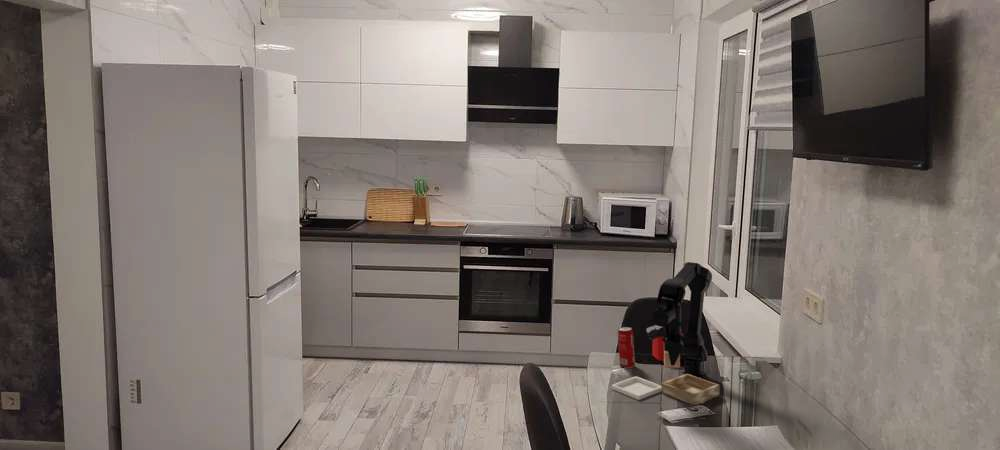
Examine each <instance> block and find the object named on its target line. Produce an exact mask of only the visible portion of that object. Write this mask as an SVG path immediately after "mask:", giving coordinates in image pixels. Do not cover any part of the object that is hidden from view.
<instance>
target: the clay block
mask: <svg viewBox="0 0 1000 450" xmlns="http://www.w3.org/2000/svg"><path fill="white" fill-rule="evenodd" d="M663 364H664V368H681V358H680V355H679V357H678V359H677V361H676V363H675V365H671V363H670V358H669V353H668V351H664V361H663Z"/></svg>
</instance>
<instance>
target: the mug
mask: <svg viewBox="0 0 1000 450" xmlns="http://www.w3.org/2000/svg"><path fill="white" fill-rule="evenodd" d="M684 335H685V334H684V333H682V332H681V337H682V336H684ZM662 337H663V336H662ZM662 337H659V338H656V339H654V340H652V355H651V356H652V357H654V359H656V360H657V361H659V362H664V341H663V339H662Z"/></svg>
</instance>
